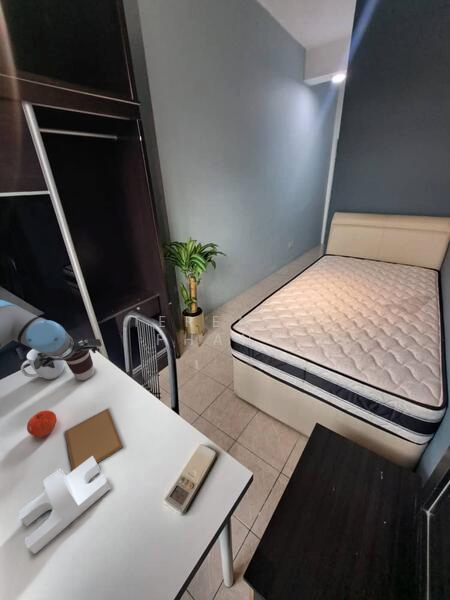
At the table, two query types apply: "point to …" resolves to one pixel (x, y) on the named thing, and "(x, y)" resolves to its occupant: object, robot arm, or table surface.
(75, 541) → the table surface
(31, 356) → the mug
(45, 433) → the apple
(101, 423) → the placemat
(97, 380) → the table surface
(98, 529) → the table surface
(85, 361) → the coffee cup
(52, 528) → the block with arch cutout
